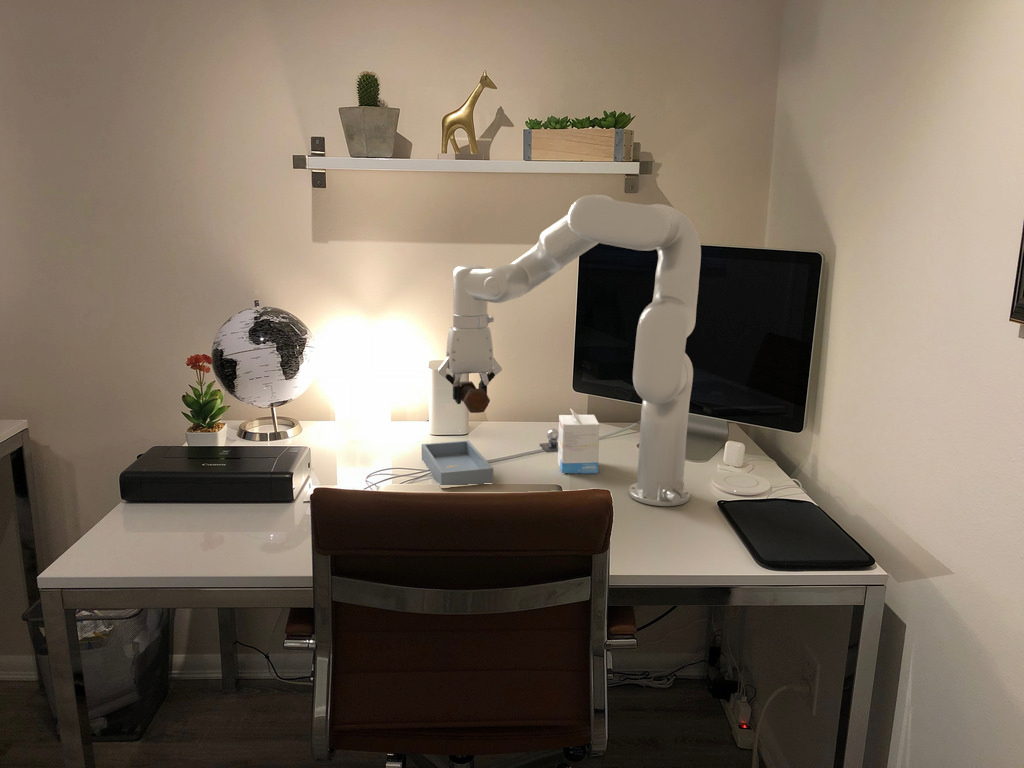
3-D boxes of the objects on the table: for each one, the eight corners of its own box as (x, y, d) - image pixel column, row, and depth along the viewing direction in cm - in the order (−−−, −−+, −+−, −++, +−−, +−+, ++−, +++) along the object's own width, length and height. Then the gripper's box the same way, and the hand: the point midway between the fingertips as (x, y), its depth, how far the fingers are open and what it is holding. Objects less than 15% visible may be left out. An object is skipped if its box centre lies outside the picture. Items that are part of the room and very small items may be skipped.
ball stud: (565, 450, 203) (566, 430, 202) (546, 452, 201) (547, 432, 200) (558, 444, 207) (559, 425, 206) (539, 445, 206) (540, 426, 205)
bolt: (465, 403, 194) (480, 418, 180) (447, 393, 192) (461, 408, 178) (477, 381, 194) (493, 394, 180) (459, 371, 192) (474, 384, 178)
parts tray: (492, 484, 179) (492, 468, 178) (441, 488, 176) (441, 472, 175) (468, 454, 198) (468, 440, 197) (421, 458, 195) (421, 444, 194)
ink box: (598, 474, 187) (601, 417, 183) (561, 474, 186) (563, 417, 183) (592, 461, 195) (594, 406, 192) (557, 461, 194) (558, 406, 191)
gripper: (502, 318, 188) (501, 395, 193) (428, 320, 184) (429, 399, 188) (511, 323, 181) (510, 404, 186) (435, 326, 177) (435, 408, 181)
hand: (469, 401), depth 187 cm, fingers closed on bolt, 4 cm apart
